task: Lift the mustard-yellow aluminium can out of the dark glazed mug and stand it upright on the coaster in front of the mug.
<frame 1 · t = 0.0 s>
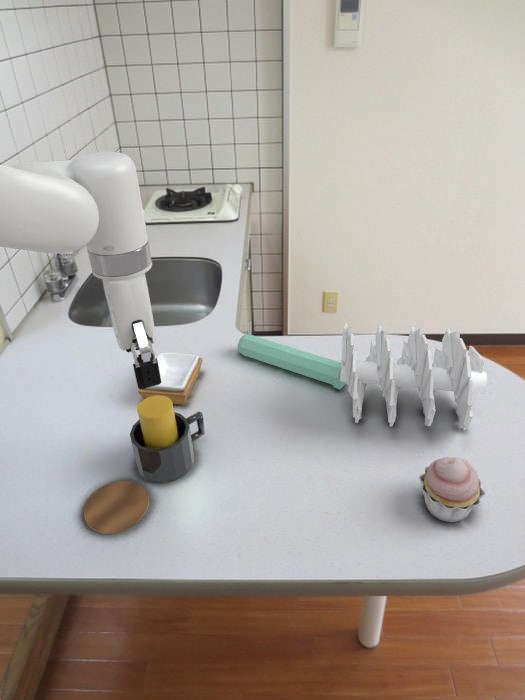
hand: (143, 366, 76), 22 cm above the table, tool pointing down, fingers open, 9 cm apart
coaster: (117, 507, 83), on the table
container: (289, 369, 112), on the table
spiral staircase: (405, 414, 99), on the table
soap dish: (173, 389, 108), on the table
mug: (166, 462, 91), on the table
cupcake: (445, 506, 81), on the table
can: (165, 459, 90), point 1 cm above the table, touching mug
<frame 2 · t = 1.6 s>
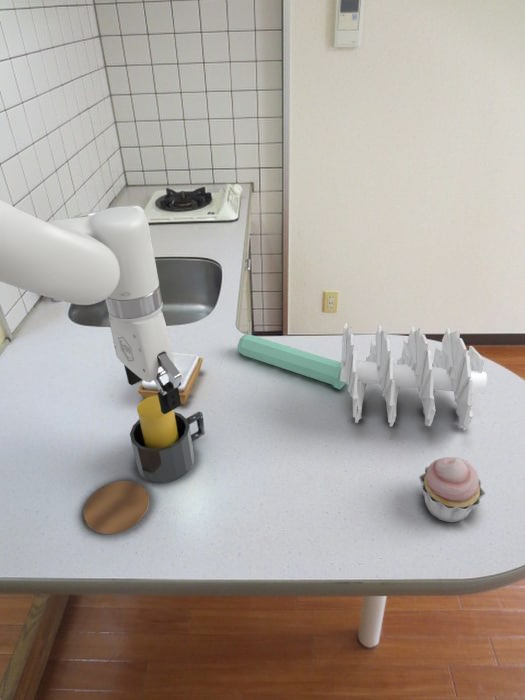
hand: (154, 394, 82), 15 cm above the table, tool pointing down, fingers open, 9 cm apart
nothing on the table moved.
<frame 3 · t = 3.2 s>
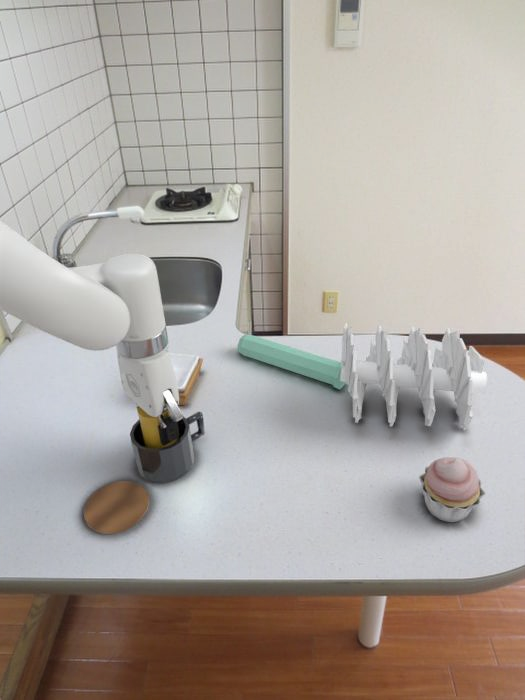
hand: (159, 429, 86), 8 cm above the table, tool pointing down, fingers closed on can, 5 cm apart
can: (165, 459, 90), point 1 cm above the table, touching gripper, mug
everything else where it was.
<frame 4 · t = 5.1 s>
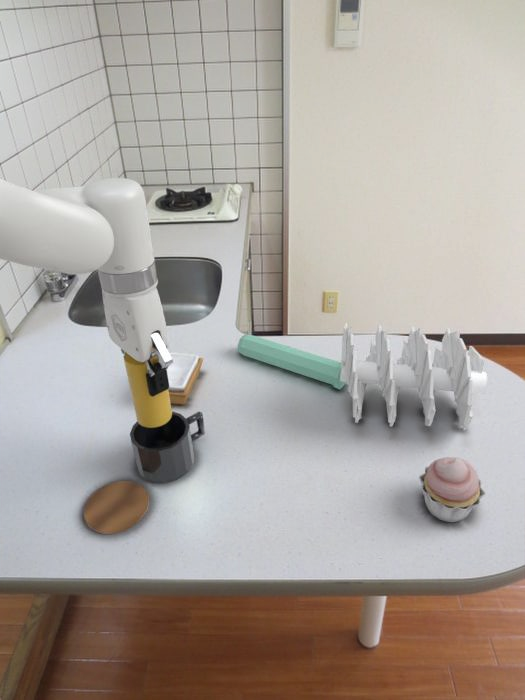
hand: (148, 381, 80), 18 cm above the table, tool pointing down, fingers closed on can, 5 cm apart
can: (154, 416, 84), point 11 cm above the table, touching gripper
everything else where it was.
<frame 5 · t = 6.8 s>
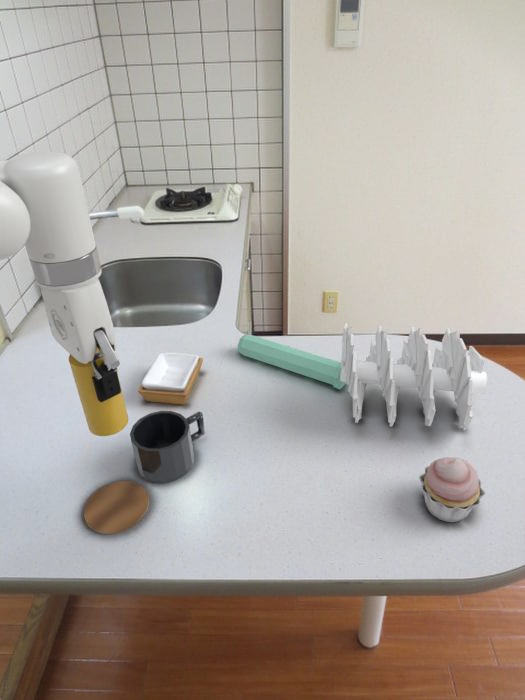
hand: (98, 385, 72), 23 cm above the table, tool pointing down, fingers closed on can, 5 cm apart
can: (108, 422, 76), point 16 cm above the table, touching gripper
everything else where it was.
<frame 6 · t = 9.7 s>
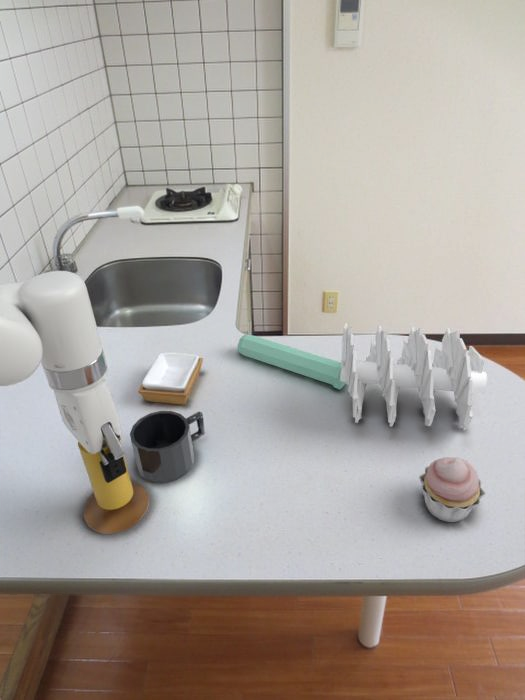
hand: (105, 464, 77), 10 cm above the table, tool pointing down, fingers closed on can, 5 cm apart
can: (115, 495, 81), point 3 cm above the table, touching gripper
everything else where it was.
when the fingers open (8 cm above the table, at t = 10.8 s): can stays where it is, resting on coaster.
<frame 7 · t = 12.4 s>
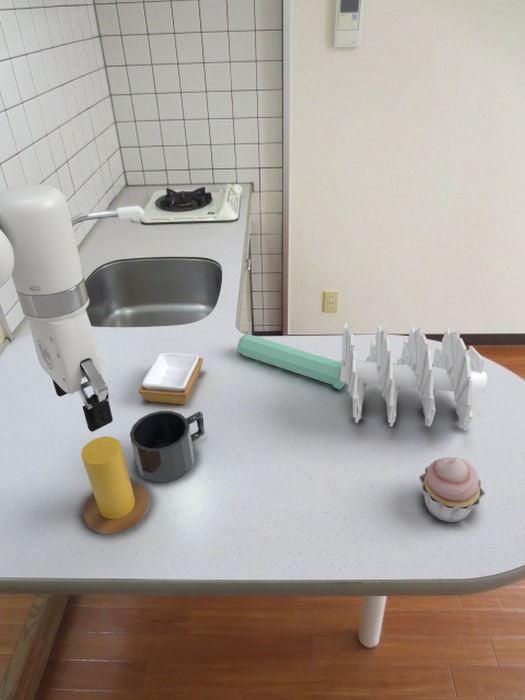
hand: (84, 408, 71), 21 cm above the table, tool pointing down, fingers open, 9 cm apart
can: (117, 504, 83), point 1 cm above the table, touching coaster
everything else where it was.
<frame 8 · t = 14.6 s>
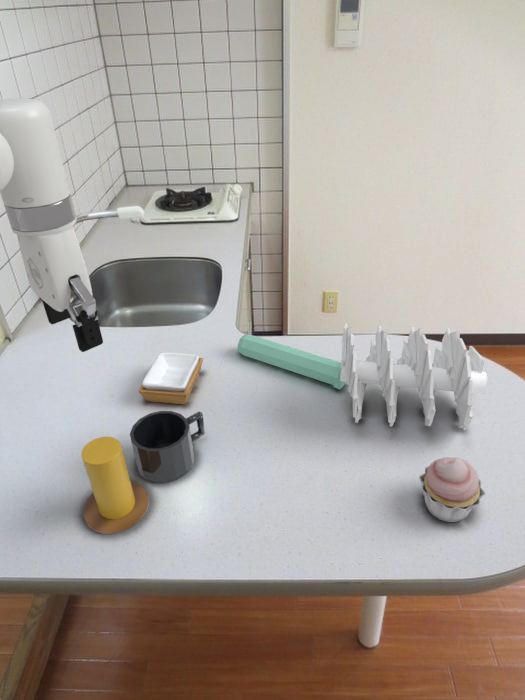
hand: (75, 333, 73), 28 cm above the table, tool pointing down, fingers open, 9 cm apart
nothing on the table moved.
at the end: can 0.1 cm off-centre on the coaster, point 0.6 cm above the coaster's base; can tilted 0°; the gripper is holding nothing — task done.
